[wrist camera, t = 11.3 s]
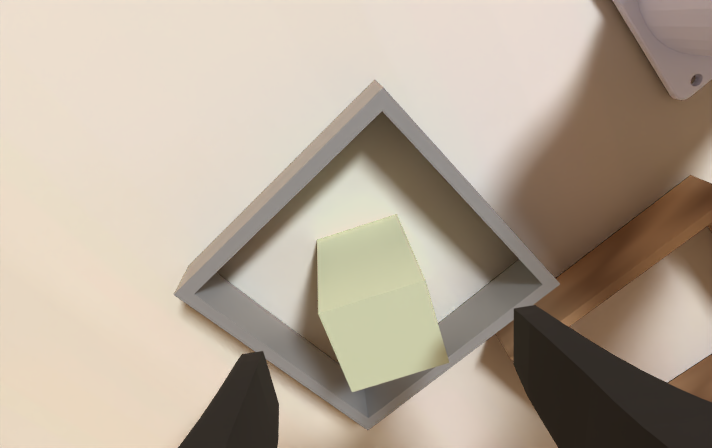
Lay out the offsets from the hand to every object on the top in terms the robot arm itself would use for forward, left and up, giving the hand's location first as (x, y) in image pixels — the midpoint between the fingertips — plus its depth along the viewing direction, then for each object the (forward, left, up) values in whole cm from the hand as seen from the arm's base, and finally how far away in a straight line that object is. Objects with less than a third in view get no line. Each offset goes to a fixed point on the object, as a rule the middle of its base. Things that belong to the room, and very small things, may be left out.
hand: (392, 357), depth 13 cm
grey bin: (+1, +2, -9) cm, 10 cm away
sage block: (+1, +2, -9) cm, 10 cm away
